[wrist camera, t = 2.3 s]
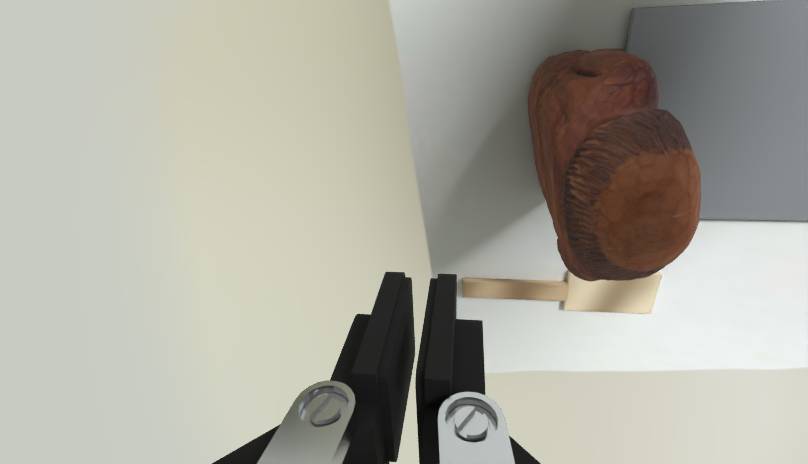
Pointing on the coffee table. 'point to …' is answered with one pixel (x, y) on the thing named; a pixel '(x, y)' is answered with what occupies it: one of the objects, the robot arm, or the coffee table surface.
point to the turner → (573, 292)
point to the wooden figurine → (612, 165)
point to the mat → (736, 99)
